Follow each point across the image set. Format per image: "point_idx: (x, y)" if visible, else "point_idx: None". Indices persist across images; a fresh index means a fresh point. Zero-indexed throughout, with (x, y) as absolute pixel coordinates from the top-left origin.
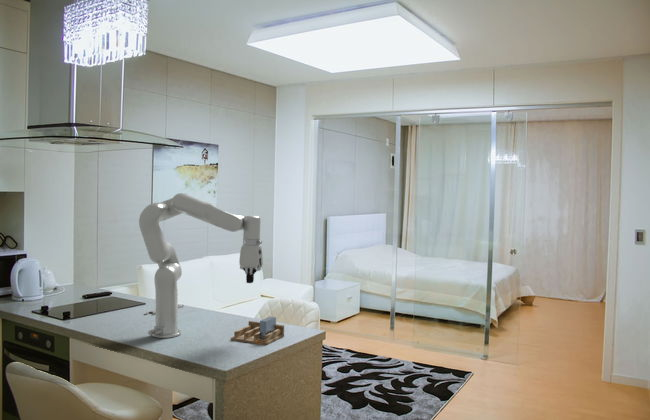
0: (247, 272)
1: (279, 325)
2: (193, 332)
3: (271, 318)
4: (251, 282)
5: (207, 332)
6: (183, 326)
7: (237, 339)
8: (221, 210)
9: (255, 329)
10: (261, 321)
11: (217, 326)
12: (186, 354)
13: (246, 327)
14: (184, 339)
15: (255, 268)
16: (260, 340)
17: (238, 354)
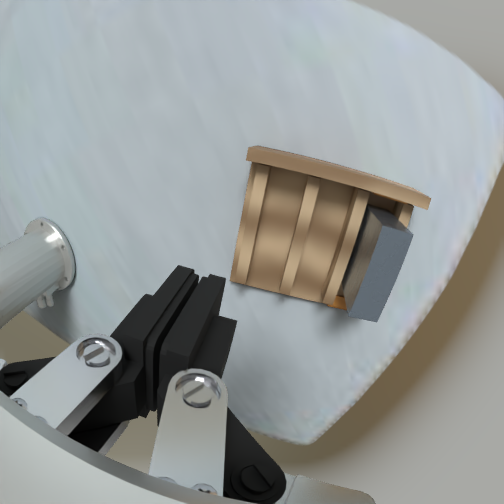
0: (124, 429)
1: (412, 204)
2: (83, 214)
3: (395, 264)
4: (218, 311)
5: (116, 202)
6: (36, 160)
7: (258, 286)
8: None
9: (307, 230)
10: (354, 315)
11: (109, 115)
12: None
13: (258, 210)
14: (106, 288)
15: (219, 494)
16: None
17: (306, 385)
